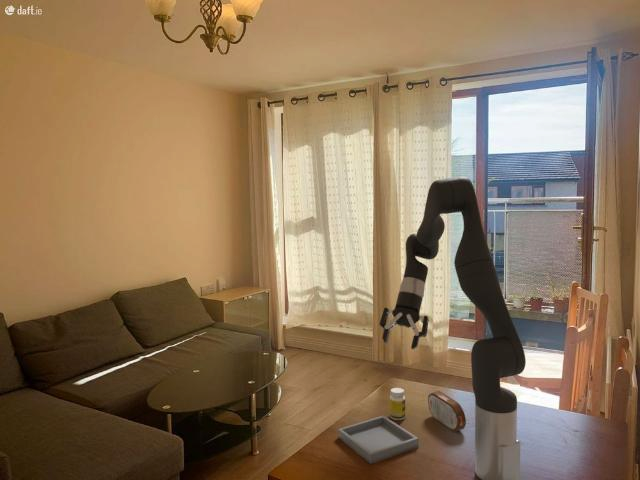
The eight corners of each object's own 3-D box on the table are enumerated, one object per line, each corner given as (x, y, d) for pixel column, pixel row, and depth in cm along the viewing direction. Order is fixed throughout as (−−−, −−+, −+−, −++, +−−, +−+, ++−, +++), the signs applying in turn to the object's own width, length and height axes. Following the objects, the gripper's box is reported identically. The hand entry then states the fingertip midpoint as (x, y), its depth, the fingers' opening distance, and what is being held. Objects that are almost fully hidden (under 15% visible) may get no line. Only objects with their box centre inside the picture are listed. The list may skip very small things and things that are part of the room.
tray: (418, 447, 126) (418, 438, 126) (370, 464, 119) (370, 454, 119) (383, 423, 140) (383, 415, 140) (338, 437, 133) (338, 429, 132)
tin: (466, 434, 132) (466, 405, 132) (457, 437, 131) (457, 407, 130) (434, 412, 146) (434, 386, 146) (426, 414, 145) (426, 388, 144)
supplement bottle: (405, 421, 141) (405, 393, 140) (389, 420, 142) (388, 393, 141) (405, 413, 146) (405, 387, 145) (390, 413, 147) (389, 386, 146)
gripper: (386, 286, 147) (373, 337, 142) (432, 295, 141) (420, 348, 136) (391, 294, 153) (379, 343, 148) (435, 302, 148) (424, 353, 142)
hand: (398, 345), depth 142 cm, fingers open, 8 cm apart
